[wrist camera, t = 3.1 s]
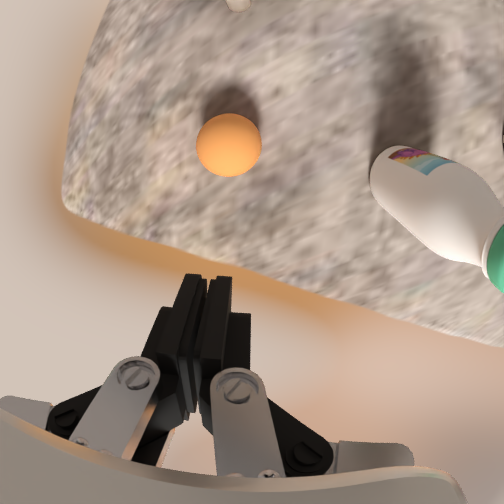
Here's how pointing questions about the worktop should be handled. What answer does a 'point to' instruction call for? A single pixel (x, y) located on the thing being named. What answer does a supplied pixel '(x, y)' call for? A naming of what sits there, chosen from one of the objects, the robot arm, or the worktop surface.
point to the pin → (238, 5)
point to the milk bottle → (442, 207)
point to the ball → (228, 145)
